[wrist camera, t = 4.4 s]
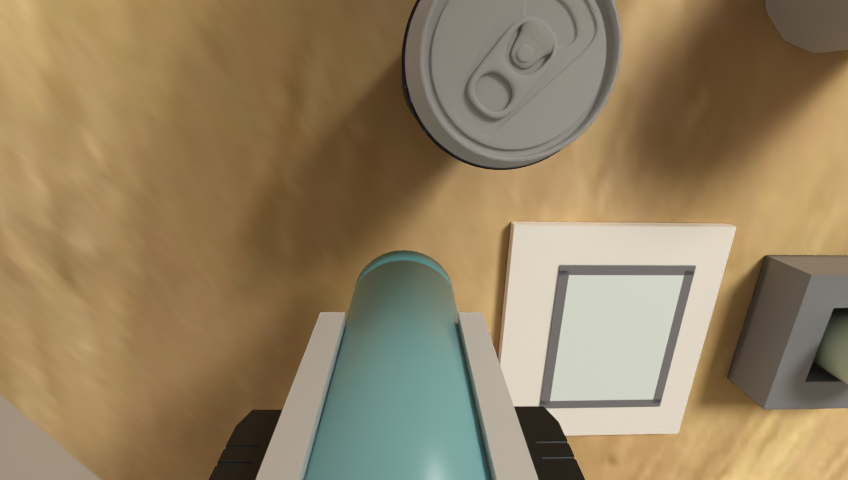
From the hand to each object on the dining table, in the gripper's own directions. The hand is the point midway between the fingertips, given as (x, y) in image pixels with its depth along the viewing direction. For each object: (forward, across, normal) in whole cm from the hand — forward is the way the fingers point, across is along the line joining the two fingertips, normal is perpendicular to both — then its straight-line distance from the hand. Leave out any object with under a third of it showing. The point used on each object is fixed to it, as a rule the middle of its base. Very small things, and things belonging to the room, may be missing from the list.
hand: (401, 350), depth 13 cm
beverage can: (+12, +3, +8) cm, 15 cm away
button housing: (+11, +27, -6) cm, 30 cm away
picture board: (+11, +13, -7) cm, 18 cm away
